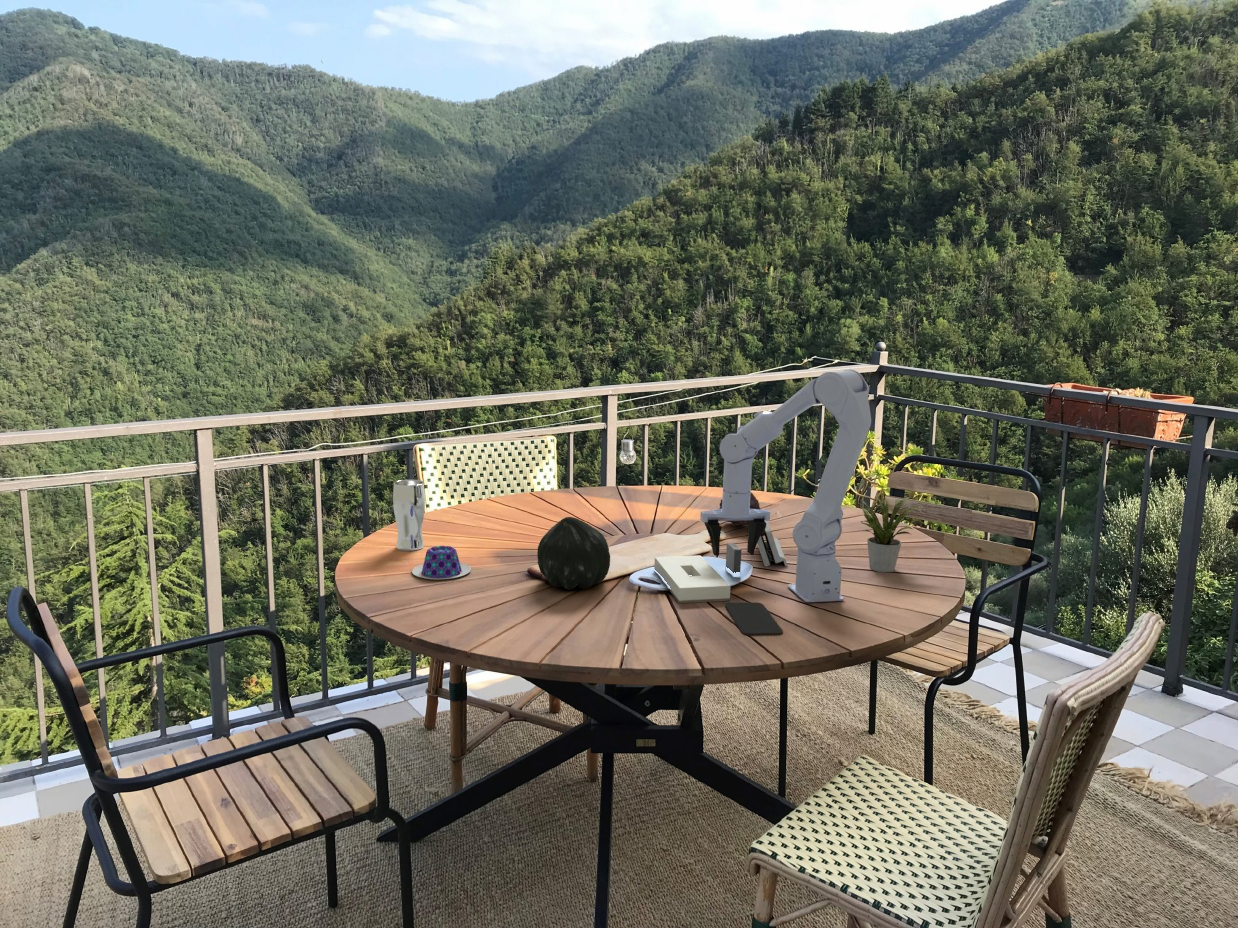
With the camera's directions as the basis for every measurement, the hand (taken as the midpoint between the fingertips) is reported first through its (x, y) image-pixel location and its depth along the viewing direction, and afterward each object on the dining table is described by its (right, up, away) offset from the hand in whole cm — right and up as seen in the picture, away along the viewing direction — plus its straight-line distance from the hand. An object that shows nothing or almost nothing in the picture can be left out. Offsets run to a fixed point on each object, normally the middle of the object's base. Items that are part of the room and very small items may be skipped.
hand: (733, 553), depth 181 cm
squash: (-33, -5, -8) cm, 34 cm away
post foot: (-10, -6, -7) cm, 13 cm away
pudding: (-61, -4, -2) cm, 61 cm away
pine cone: (+7, +3, +38) cm, 39 cm away
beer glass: (-71, 0, +15) cm, 73 cm away
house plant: (+34, -4, +7) cm, 35 cm away
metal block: (0, -4, +1) cm, 4 cm away
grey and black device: (+9, -2, +15) cm, 18 cm away
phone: (0, -10, -25) cm, 27 cm away
